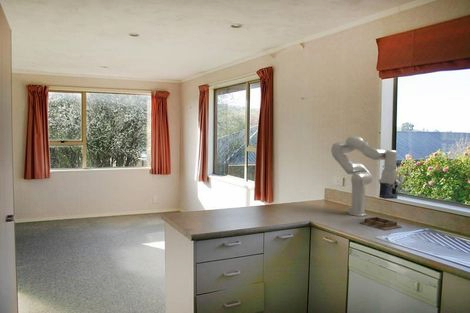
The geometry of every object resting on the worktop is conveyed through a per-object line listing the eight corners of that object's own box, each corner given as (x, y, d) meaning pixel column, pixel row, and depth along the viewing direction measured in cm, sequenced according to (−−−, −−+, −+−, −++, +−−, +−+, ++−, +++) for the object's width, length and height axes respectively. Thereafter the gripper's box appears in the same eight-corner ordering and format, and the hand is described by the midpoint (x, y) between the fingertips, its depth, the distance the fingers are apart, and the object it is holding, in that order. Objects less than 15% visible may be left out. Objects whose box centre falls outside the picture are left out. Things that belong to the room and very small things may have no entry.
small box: (384, 199, 260) (385, 183, 260) (378, 197, 267) (379, 182, 266) (397, 198, 263) (398, 183, 263) (391, 197, 270) (392, 182, 269)
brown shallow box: (360, 223, 257) (360, 218, 256) (376, 221, 265) (376, 216, 265) (385, 230, 239) (385, 224, 239) (401, 227, 248) (401, 222, 247)
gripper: (375, 166, 269) (374, 191, 270) (398, 169, 254) (396, 195, 255) (382, 166, 273) (381, 191, 274) (404, 169, 258) (403, 194, 260)
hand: (388, 193), depth 265 cm, fingers closed on small box, 7 cm apart
